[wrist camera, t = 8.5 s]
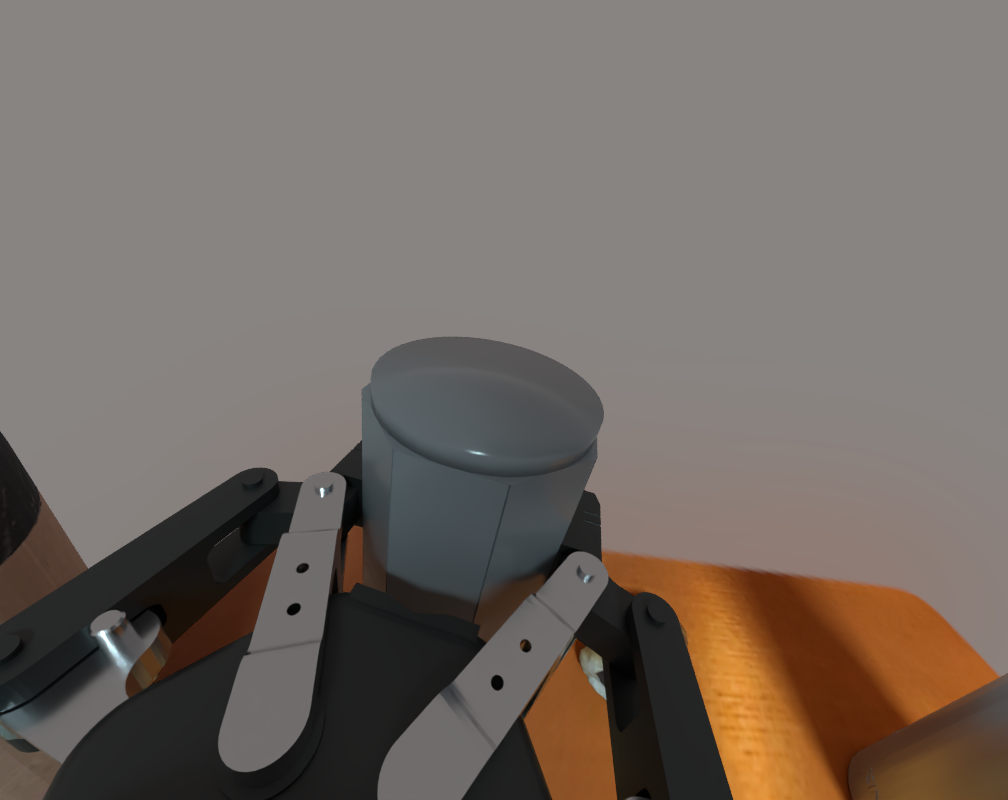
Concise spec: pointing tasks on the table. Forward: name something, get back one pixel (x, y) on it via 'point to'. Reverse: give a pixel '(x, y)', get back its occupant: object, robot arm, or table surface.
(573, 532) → the robot arm
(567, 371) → the canister
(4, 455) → the travel mug
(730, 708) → the table surface
